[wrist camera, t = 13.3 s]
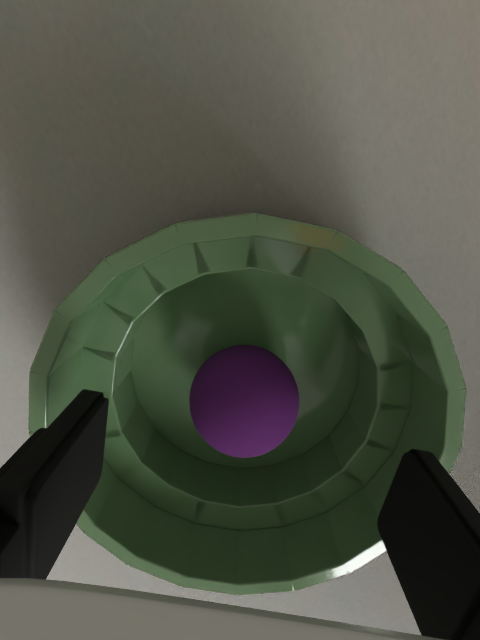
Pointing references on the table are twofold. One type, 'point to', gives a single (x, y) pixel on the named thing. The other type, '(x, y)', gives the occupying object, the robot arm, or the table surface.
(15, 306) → the table surface
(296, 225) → the bowl
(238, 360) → the ball
